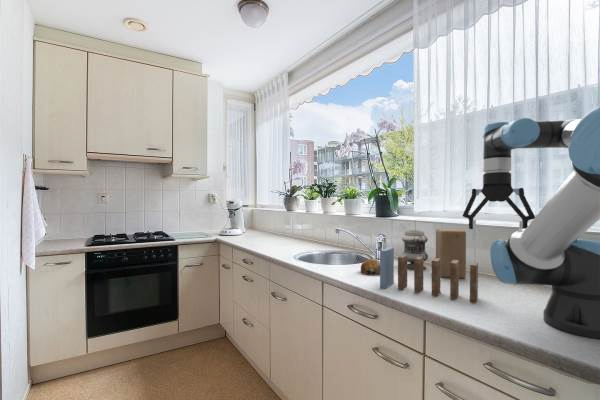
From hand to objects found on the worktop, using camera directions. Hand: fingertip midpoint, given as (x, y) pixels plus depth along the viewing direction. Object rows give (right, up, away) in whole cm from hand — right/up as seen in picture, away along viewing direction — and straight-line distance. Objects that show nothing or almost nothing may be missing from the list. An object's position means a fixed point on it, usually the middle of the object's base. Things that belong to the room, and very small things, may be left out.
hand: (496, 240), depth 96 cm
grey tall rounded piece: (-7, -20, +51) cm, 55 cm away
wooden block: (+3, -20, +36) cm, 41 cm away
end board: (-29, -20, +20) cm, 41 cm away
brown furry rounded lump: (-30, -20, +41) cm, 55 cm away
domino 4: (-10, -20, +7) cm, 23 cm away
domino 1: (-24, -20, +17) cm, 36 cm away
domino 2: (-19, -20, +14) cm, 31 cm away
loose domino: (-5, -20, +4) cm, 21 cm away
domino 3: (-15, -20, +11) cm, 27 cm away
